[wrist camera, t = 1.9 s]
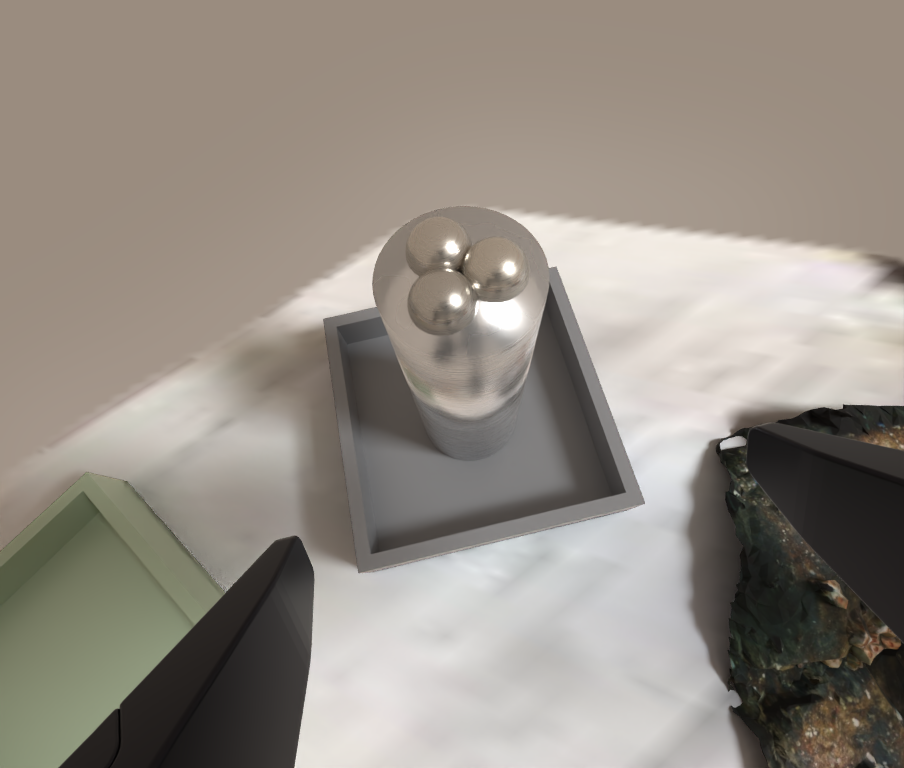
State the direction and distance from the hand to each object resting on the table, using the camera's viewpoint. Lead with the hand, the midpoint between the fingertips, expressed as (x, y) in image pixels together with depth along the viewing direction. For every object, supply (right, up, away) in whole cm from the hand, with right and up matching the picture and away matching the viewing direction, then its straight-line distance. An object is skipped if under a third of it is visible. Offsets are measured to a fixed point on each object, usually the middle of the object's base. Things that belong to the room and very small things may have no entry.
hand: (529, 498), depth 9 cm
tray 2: (-1, 0, +15) cm, 15 cm away
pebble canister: (-1, +1, +14) cm, 14 cm away
